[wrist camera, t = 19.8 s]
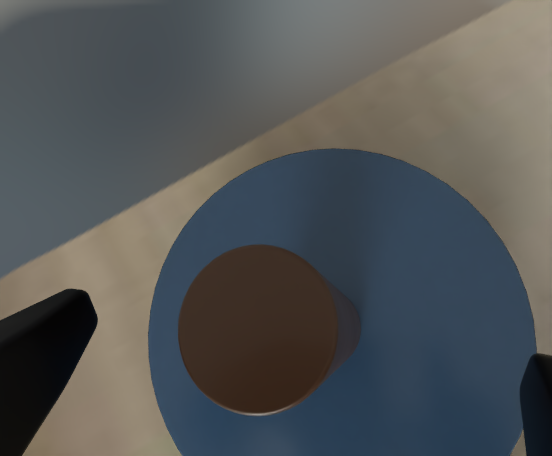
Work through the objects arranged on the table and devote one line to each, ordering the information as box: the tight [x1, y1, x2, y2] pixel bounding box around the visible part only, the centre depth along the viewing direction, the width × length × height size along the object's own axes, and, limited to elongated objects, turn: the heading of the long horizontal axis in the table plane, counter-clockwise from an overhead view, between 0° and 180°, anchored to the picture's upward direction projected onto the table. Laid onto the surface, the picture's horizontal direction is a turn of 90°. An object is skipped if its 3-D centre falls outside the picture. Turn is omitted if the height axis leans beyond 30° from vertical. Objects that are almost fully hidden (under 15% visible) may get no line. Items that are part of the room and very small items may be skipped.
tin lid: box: [148, 149, 537, 456], centre depth 11 cm, size 14×14×10 cm
